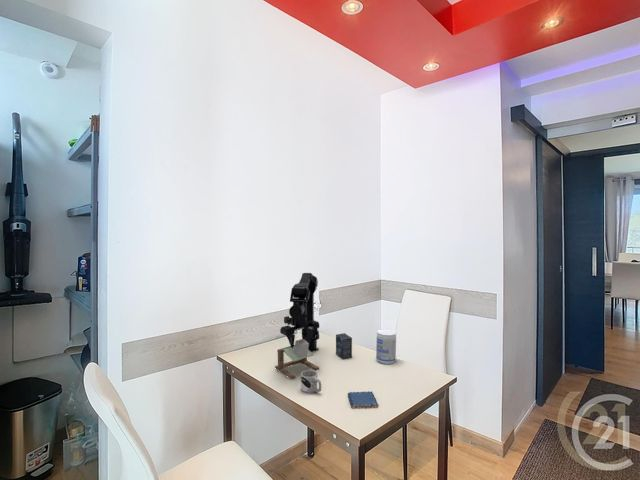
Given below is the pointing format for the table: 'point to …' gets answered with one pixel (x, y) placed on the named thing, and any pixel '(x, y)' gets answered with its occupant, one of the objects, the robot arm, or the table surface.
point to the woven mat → (362, 400)
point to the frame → (282, 365)
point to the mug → (310, 382)
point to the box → (344, 346)
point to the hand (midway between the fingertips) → (300, 345)
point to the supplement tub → (386, 346)
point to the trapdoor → (293, 356)
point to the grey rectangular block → (301, 347)
